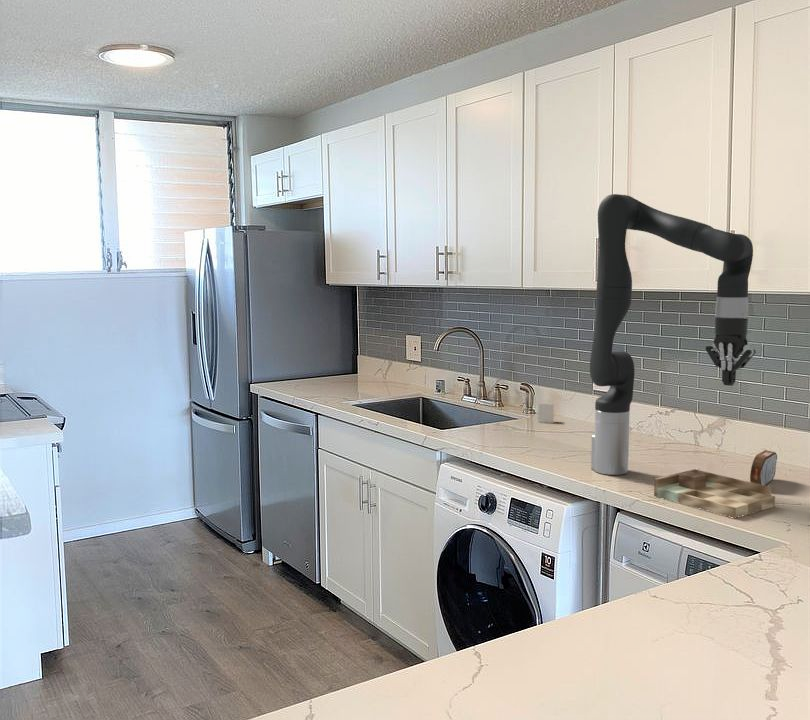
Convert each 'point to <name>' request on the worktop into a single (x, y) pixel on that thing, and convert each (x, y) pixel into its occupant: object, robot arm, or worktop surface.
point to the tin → (763, 468)
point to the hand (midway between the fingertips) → (728, 385)
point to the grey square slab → (546, 413)
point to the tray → (717, 494)
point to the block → (692, 480)
